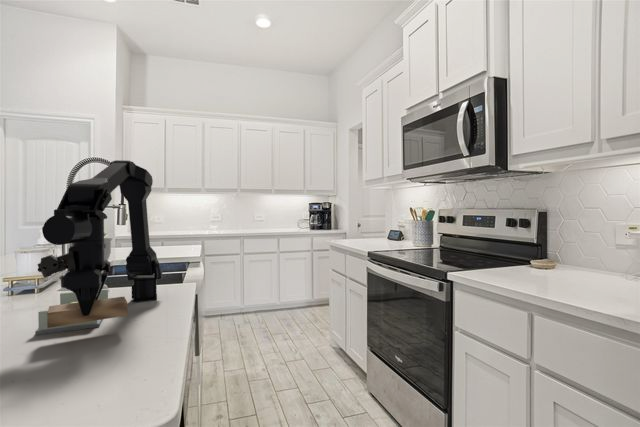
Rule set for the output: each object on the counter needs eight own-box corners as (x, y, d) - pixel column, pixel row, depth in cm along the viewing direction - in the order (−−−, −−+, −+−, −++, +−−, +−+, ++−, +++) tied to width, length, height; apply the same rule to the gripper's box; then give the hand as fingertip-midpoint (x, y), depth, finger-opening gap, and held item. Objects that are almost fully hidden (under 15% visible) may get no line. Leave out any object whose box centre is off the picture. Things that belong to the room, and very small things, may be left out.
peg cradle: (110, 305, 98) (110, 288, 98) (99, 326, 80) (99, 305, 80) (59, 310, 93) (59, 292, 93) (35, 334, 75) (35, 312, 75)
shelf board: (124, 308, 81) (124, 296, 81) (127, 315, 76) (127, 302, 76) (49, 320, 72) (49, 306, 72) (47, 328, 68) (47, 313, 67)
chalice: (96, 289, 117) (96, 238, 117) (116, 289, 118) (116, 238, 118) (83, 294, 110) (83, 240, 110) (105, 294, 111) (105, 239, 110)
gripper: (54, 238, 79) (55, 304, 79) (26, 246, 62) (27, 330, 62) (110, 236, 84) (110, 299, 84) (98, 243, 67) (98, 322, 67)
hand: (89, 311), depth 74 cm, fingers closed on shelf board, 6 cm apart
